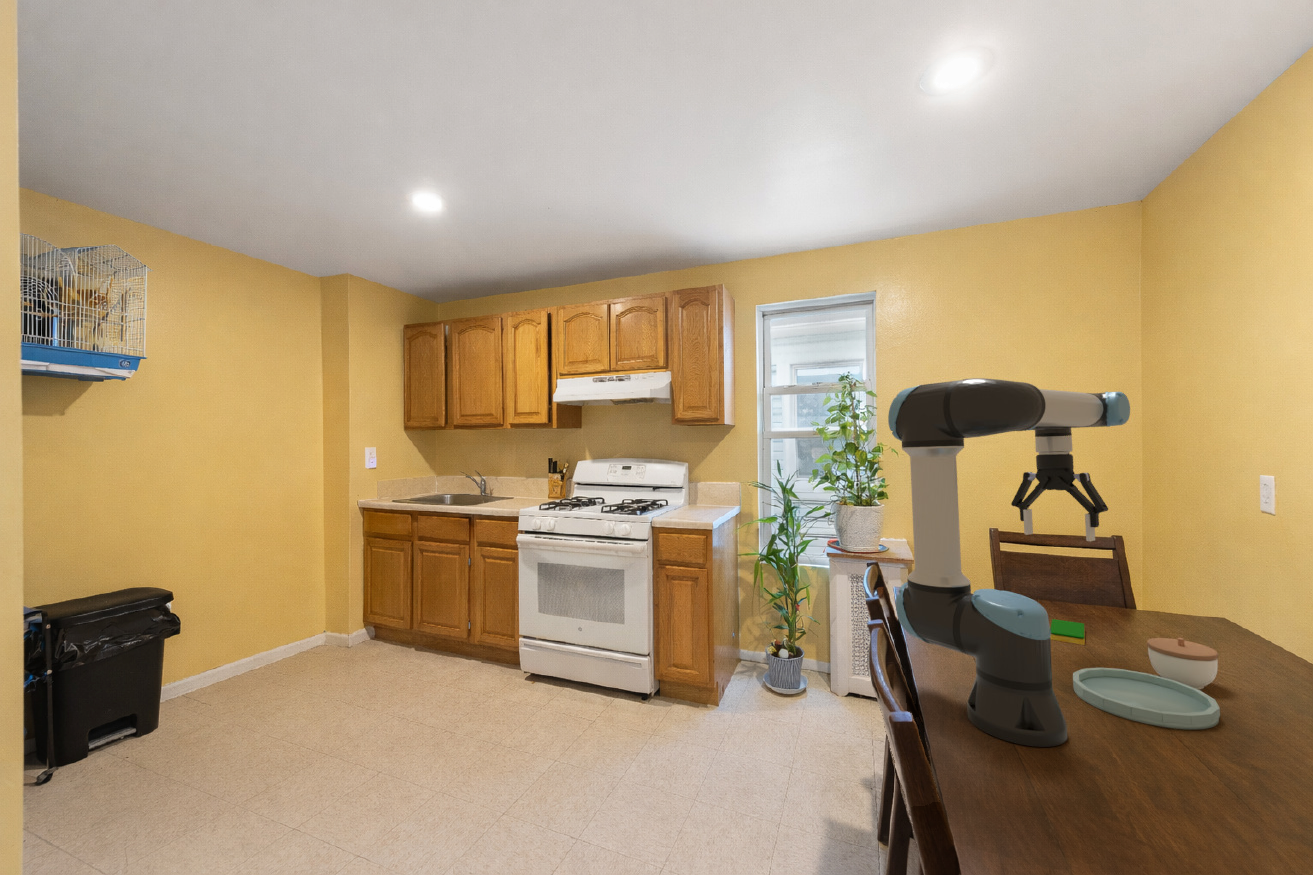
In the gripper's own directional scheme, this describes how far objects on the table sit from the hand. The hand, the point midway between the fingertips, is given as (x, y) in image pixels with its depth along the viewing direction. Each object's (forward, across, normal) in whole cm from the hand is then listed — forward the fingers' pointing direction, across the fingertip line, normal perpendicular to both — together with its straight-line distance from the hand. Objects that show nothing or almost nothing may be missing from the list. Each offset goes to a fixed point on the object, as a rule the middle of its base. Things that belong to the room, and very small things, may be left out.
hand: (1058, 537), depth 133 cm
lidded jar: (+28, -22, +1) cm, 36 cm away
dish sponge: (+29, +5, -13) cm, 32 cm away
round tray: (+28, -21, +19) cm, 40 cm away
